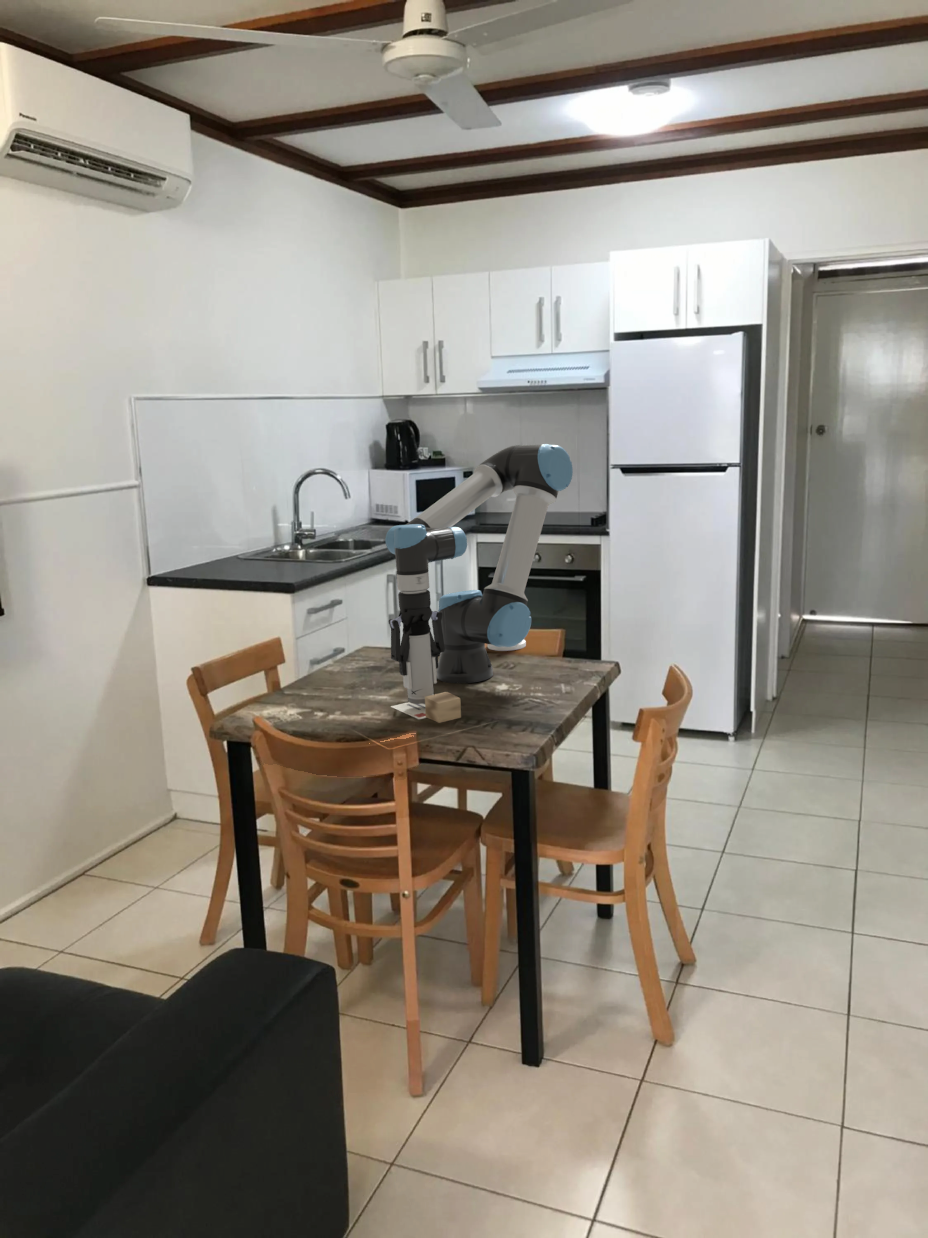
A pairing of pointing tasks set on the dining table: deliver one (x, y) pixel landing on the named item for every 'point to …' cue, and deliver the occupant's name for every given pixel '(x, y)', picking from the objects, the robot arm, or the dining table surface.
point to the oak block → (442, 707)
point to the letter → (412, 709)
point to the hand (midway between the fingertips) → (420, 684)
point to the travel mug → (419, 662)
